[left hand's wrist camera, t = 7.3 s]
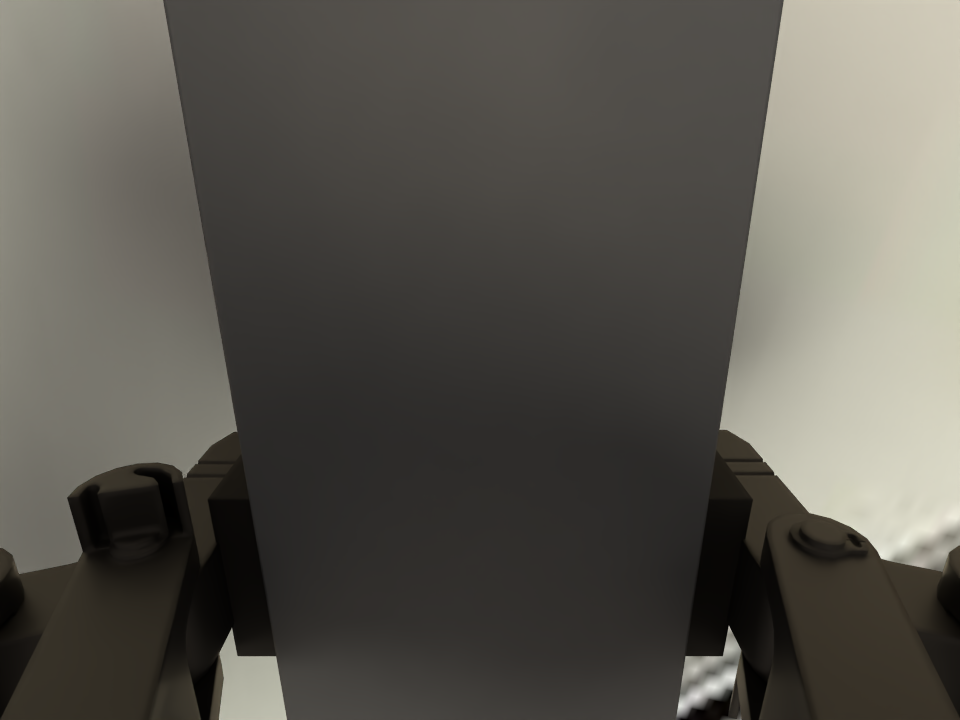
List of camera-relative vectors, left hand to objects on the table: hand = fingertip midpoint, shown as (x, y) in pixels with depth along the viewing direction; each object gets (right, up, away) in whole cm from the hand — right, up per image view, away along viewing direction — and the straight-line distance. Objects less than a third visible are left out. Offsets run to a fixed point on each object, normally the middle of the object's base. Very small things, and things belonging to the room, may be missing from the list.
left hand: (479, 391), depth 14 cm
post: (0, -32, +13) cm, 34 cm away
